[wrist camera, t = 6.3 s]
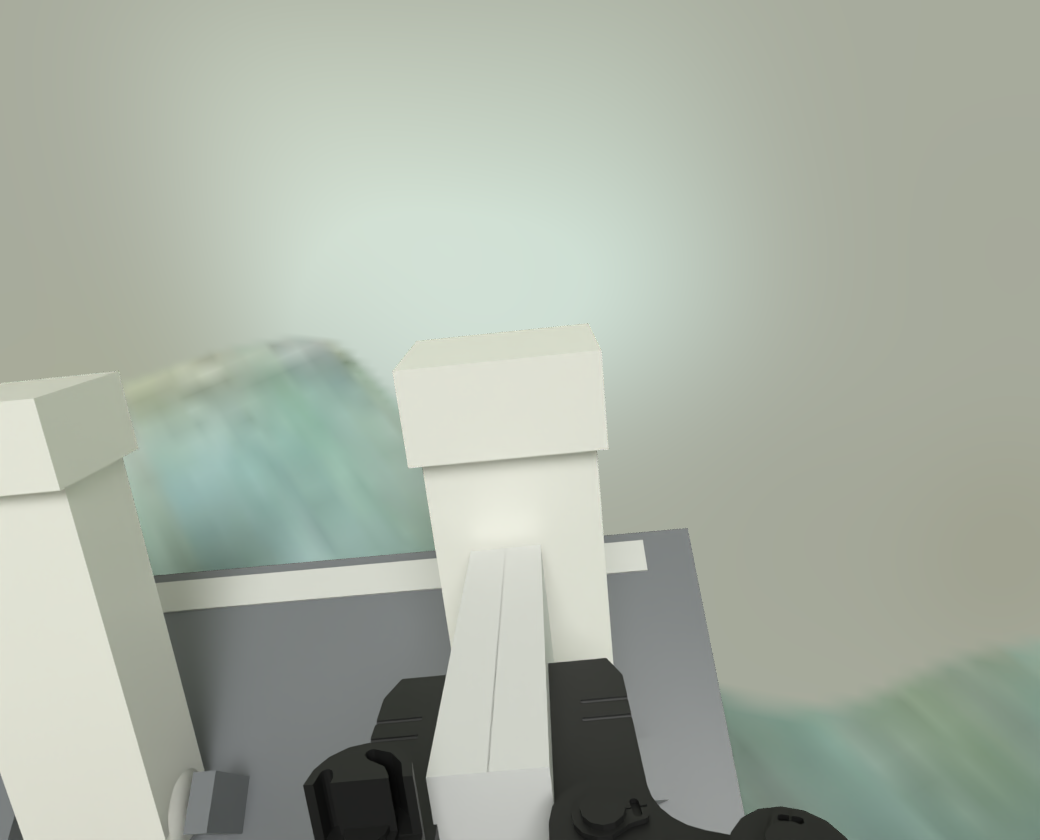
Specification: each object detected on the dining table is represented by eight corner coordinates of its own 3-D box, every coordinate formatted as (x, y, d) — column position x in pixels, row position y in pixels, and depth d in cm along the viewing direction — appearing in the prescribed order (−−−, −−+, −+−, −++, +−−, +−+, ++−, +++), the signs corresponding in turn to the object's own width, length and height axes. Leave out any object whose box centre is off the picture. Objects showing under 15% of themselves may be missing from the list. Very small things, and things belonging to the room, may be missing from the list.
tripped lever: (637, 851, 17) (601, 350, 13) (473, 862, 17) (392, 371, 13) (621, 756, 20) (588, 323, 16) (481, 767, 20) (416, 340, 16)
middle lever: (173, 882, 17) (33, 398, 14) (18, 893, 17) (-155, 417, 14) (225, 789, 20) (118, 371, 17) (92, 799, 20) (-38, 386, 17)
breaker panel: (762, 1066, 19) (834, 1161, 13) (-366, 1128, 20) (-730, 1239, 15) (673, 573, 26) (695, 501, 21) (-155, 645, 28) (-344, 595, 22)
